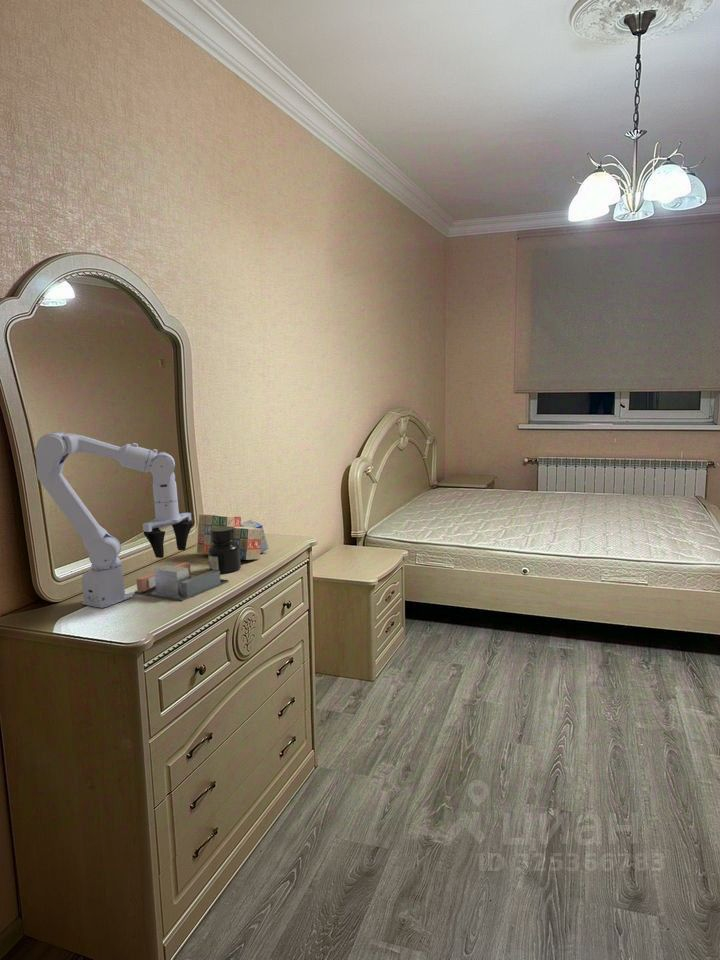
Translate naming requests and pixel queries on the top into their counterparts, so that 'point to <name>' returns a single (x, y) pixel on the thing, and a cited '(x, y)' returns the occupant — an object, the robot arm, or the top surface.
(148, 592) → the vise bed
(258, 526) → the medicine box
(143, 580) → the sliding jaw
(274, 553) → the top surface
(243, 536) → the stack of blocks
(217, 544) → the ink bottle
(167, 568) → the steel block
